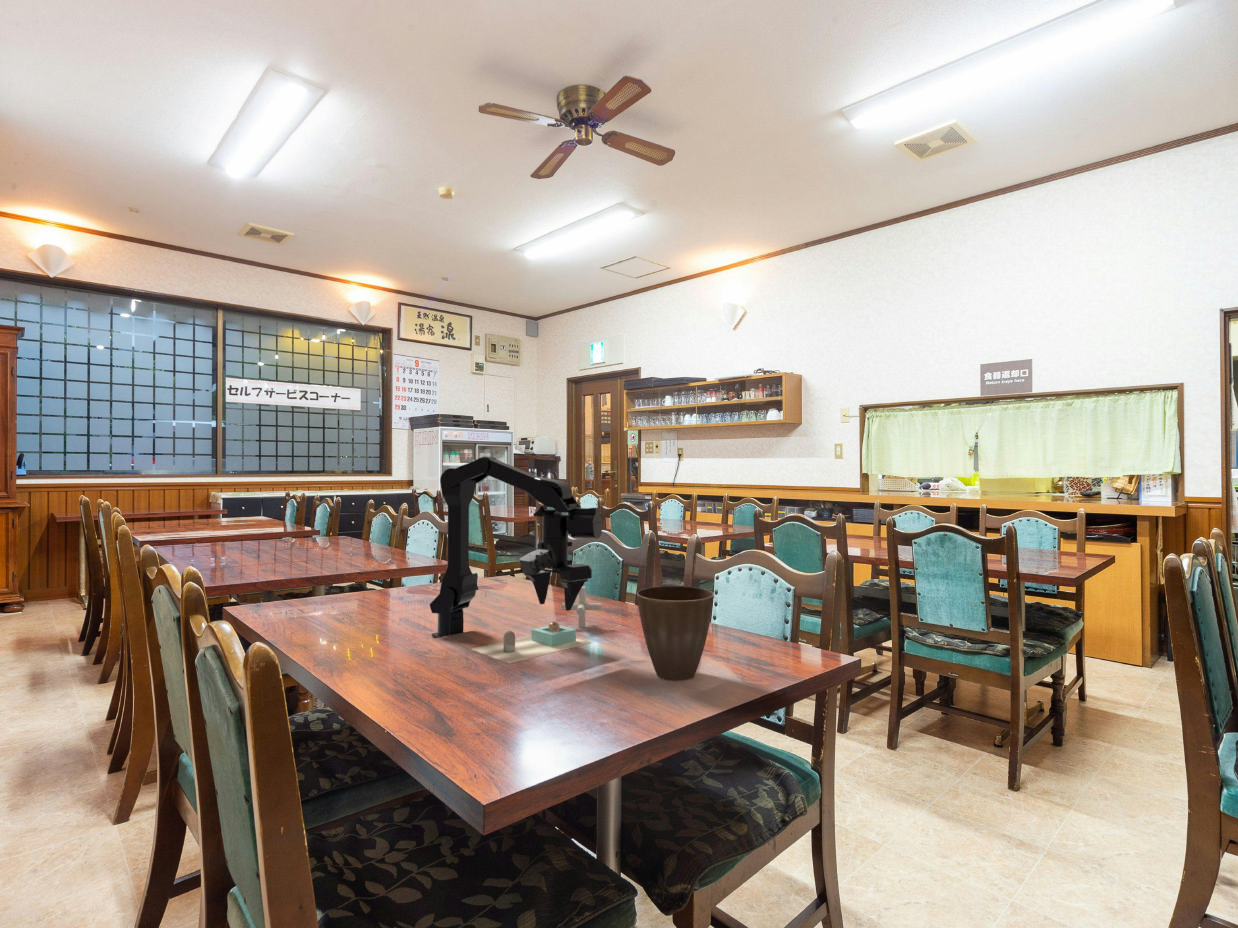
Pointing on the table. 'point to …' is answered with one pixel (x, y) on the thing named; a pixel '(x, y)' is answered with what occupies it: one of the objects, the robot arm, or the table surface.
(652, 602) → the plant pot
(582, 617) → the pipe connector
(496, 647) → the birch stand board
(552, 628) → the bronze post
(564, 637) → the teal collar
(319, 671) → the table surface
